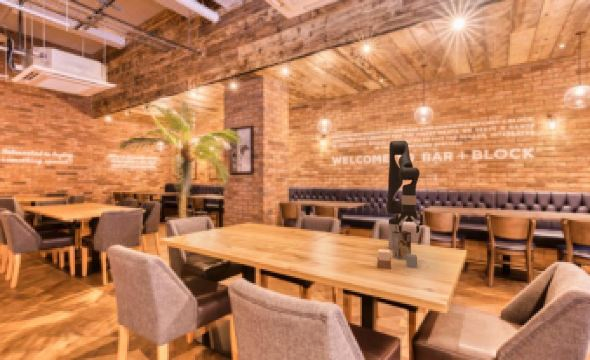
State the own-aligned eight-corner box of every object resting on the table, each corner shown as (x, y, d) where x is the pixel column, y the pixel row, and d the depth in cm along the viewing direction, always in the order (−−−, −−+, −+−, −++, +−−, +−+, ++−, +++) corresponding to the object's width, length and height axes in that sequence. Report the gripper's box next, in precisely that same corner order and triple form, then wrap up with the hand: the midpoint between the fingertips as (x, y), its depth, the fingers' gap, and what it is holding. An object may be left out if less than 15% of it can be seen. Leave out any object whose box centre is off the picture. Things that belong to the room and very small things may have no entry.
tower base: (377, 264, 167) (377, 256, 167) (390, 265, 166) (390, 257, 166) (377, 268, 161) (377, 260, 161) (391, 269, 159) (391, 261, 159)
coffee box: (404, 255, 185) (404, 230, 185) (411, 258, 179) (411, 232, 178) (391, 256, 182) (392, 231, 182) (398, 259, 176) (398, 233, 176)
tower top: (378, 257, 167) (378, 249, 167) (389, 257, 165) (389, 249, 165) (378, 260, 161) (378, 251, 161) (389, 260, 159) (390, 252, 159)
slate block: (406, 264, 167) (406, 254, 167) (415, 265, 166) (415, 254, 166) (407, 267, 162) (407, 256, 162) (417, 267, 161) (417, 257, 161)
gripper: (421, 203, 164) (421, 231, 165) (395, 202, 168) (394, 230, 169) (423, 204, 157) (423, 234, 158) (395, 203, 161) (395, 233, 161)
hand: (408, 232), depth 163 cm, fingers open, 8 cm apart
